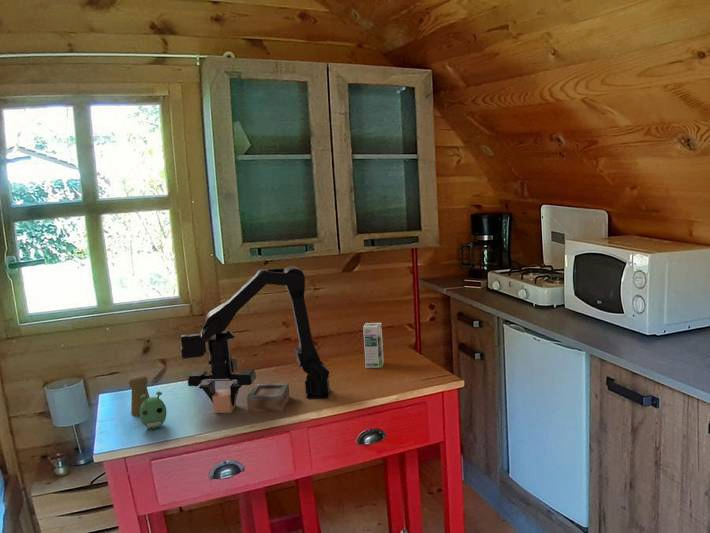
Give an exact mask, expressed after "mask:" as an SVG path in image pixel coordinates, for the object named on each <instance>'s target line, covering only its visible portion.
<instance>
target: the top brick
mask: <svg viewBox="0 0 710 533" xmlns="http://www.w3.org/2000/svg"><path fill="white" fill-rule="evenodd" d="M212 398H213V403H212V405H213V407H212V408H213V414H214V413H215V414H216V413H217V414H221V413H224V414H225V413H230V414H231V413H232V412H233V410H234V409H235V408H236V407H237V402H236V403H235V405H234V406H233V405H232V401H231V391H230V389H217V390H216V393H215V394H214V395H213V396H212Z"/></svg>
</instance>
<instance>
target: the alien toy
mask: <svg viewBox="0 0 710 533" xmlns="http://www.w3.org/2000/svg"><path fill="white" fill-rule="evenodd" d="M156 395H157V397H156V396H150V398H148V399H145V397H146V395H145V394H143V395H141V399H144V400H145V401H144V402H143V403H142V405H141V407H140V416H139V418H140V421H141V422H142V425H143V426H145V427H147V429H148V428H149V429H157V428H160V427H161V426H162V425H163V424H164V423H165V421H166V418H167V415H168V414H167V413H168V412H167V407H166V404H165V403H164V401H163V399H161V398H160V396H162V395H163V393H162V392H161V391H160V390H158V391H156Z"/></svg>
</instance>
